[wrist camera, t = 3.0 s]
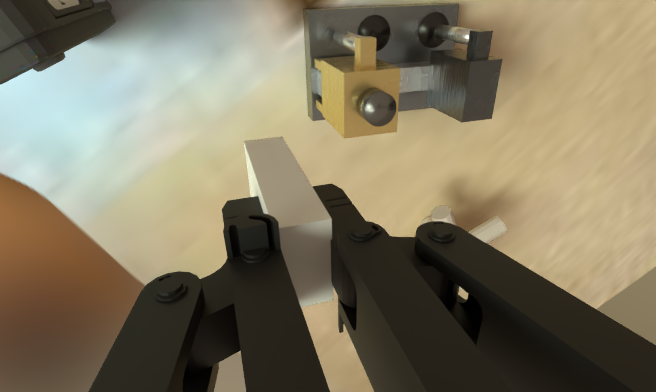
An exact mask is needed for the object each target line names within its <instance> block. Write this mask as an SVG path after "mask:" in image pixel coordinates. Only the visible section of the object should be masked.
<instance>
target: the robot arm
mask: <svg viewBox="0 0 656 392" xmlns="http://www.w3.org/2000/svg"><path fill="white" fill-rule="evenodd" d="M244 146H245V154H246V162H247V169H248V177H249V185H250V193H251V197H249V198H243V199H236V200H230V201H227V202H226V204H225V206H224V207H223V209H222V213H223V221H224V230H223V233H224V239H225V245H226V250H227V256H228V258H227V260H226V262H225V264H224V265H223V266H222V267H221V268H220V269H219V270H217V271H216V272H215V273H213V274H211V275H209V276H207V277H204V278H202V279H199V278H198V276H196V275H194V274H192V273H190V272H173V273H167V274H165V275H162V276H160V277H157V278H155V279H154V280H153V281H151V282H150V283H148V284H147V285H146V286H145V287H144V289H143V290H142V291H141V293H140V295H139V296H138V298H137V300H136V302H135V304H134V306H133V308H132V310H131V312H130V314H129V315H128V317H127V319H126V321H125V323H124V325H123V327H122V329H121V331H120V333H119V335H118V336H117V338H116V340H115V342H114V344H113V346H112V348H111V350H110V352H109V354H108V356H107V358H106V359H105V361H104V363H103V365H102V367H101V369H100V371H99V373H98V375H97V377H96V379H95V380H94V382H93V385H92V386H91V388H90V390H89V392H214V388H215V383H216V379H217V374H218V369H219V364H218V363H219V362H220V361H222V360H224V359H226V358H227V357H229V356H231V355H233V354H235V353H237V352H239V351H240V350H241V357H242V364H243V371H244V378H245V385H246V392H330V391H329V388H328V385H327V382H326V379H325V376H324V373H323V370H322V367H321V364H320V361H319V359H318V356H317V353H316V350H315V347H314V344H313V341H312V338H311V335H310V332H309V329H308V327H307V324H306V321H305V318H304V315H303V312H302V309H301V307H305V306H309V305H314V304H318V303H322V302H327V301H331V300H333V286H334V288H335V290H336V293H337V295H338V327H339V333H341V332H343V324H345V327H346V329H347V331H348V333H349V336H350V338H351V340H352V342H353V345H354V347H355V349H356V351H357V354H358V356H359V358H360V360H361V362H362V365H363V367H364V369H365V371H366V374H367V376H368V378H369V380H370V383H371V385H372V387H373V389H374V392H656V345H654V344H653V343H651V342H649V341H648V340H646V339H644V338H643V337H641V336H639V335H637V334H636V333H634V332H632V331H631V330H629V329H628V328H626V327H624V326H623V325H621V324H619V323H618V322H616V321H614V320H613V319H611V318H609V317H608V316H606V315H604V314H603V313H601V312H600V311H598V310H596V309H595V308H593V307H591V306H590V305H588V304H586V303H585V302H583V301H581V300H580V299H578V298H576V297H575V296H573V295H571V294H570V293H568V292H566V291H565V290H563V289H561V288H560V287H558V286H556V285H555V284H553V283H551V282H550V281H548V280H546V279H545V278H543V277H541V276H540V275H538V274H536V273H535V272H533V271H531V270H530V269H528V268H526V267H525V266H523V265H522V264H520V263H518V262H517V261H515V260H513V259H512V258H510V257H508V256H507V255H505V254H503V253H502V252H500V251H498V250H497V249H495V248H493V247H492V246H490V245H488V244H487V243H485V242H483V241H482V240H480V239H478V238H477V237H475V236H473V235H472V234H470V233H468V232H467V231H465V230H463V229H462V228H460V227H458V226H456V225H454V224H451V223H447V222H443V221H431V222H427V223H424V224H422V225H420V226H419V227H418V228H417V230H416V237H392V236H389V234H388V233H387V232H386V231H385V229H383V228H382V227H381V226H380V225H378V224H375V223H373V222H367V221H365V220H364V218H363V217H362V216H361V214H360V213H359V211H358V210H357V209H356V207H355V206H354V205H353V204H352V202H351V201H350V199H349V198H348V197H347V195H346V194H345V193H344V191H343V190H342V189H341V188H339V187H337V186H335V185H333V184H326V185H319V186H313V187H312V185H311V184H310V182H309V180H308V179H307V177H306V175H305V174H304V172H303V170H302V169H301V167H300V165H299V164H298V162H297V160H296V159H295V157H294V155H293V154H292V152H291V150H290V149H289V147H288V145H287V144H286V142H285V140H284V139H283V137H274V138H265V139H257V140H249V141H244ZM459 287H461V288H462V289H463V290H465V291H466V292H467V293H469V294H468V299H467V300H465V299H464V298H462V297H461V296H459V295H458V291H459Z"/></svg>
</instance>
